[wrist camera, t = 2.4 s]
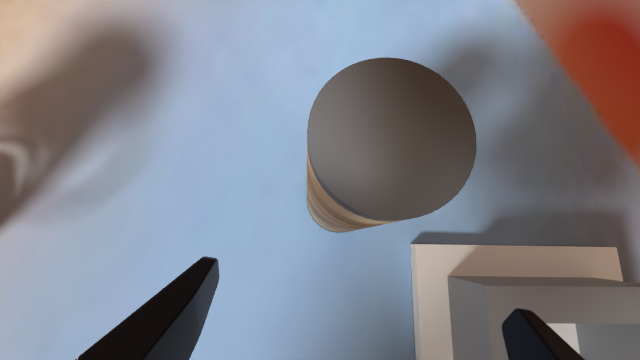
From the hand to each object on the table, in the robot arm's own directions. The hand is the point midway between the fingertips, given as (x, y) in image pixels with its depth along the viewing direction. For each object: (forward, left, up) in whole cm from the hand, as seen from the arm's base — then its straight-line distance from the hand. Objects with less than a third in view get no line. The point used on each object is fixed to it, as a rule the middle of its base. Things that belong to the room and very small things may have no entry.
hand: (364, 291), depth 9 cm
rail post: (0, +4, -11) cm, 12 cm away
